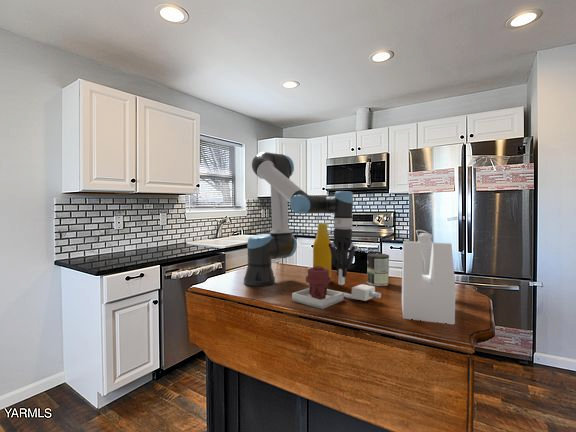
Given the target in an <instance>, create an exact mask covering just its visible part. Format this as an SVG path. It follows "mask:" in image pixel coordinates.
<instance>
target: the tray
mask: <svg viewBox="0 0 576 432" xmlns="http://www.w3.org/2000/svg"><path fill="white" fill-rule="evenodd" d="M338 291H339V290H333V289H328V288H327V295H326V297H325V298H321V299H316V298H314V297H311V295H310V294H309V287H308V288H304V289H300V290H298V291H295V292H292V293H291V300H292V302H295V303H298V304H299V303H300V304H303V305H306V306H309V307H313V308H317V309H321V310H323V309H325V308H328V307H330V306H333V305H335V304H338V303H340V302H343V301H344V298H345V297H344V293H345V292H344V293H343V291H340V292H338Z"/></svg>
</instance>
